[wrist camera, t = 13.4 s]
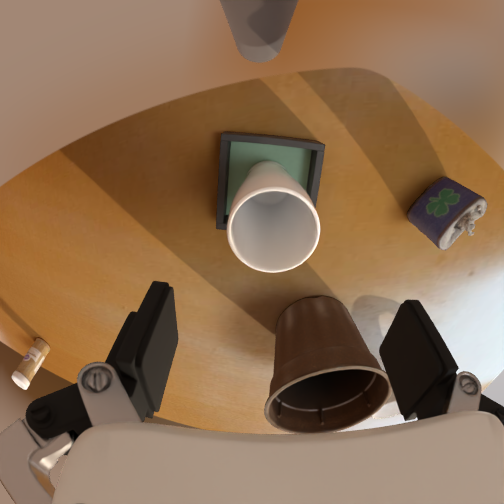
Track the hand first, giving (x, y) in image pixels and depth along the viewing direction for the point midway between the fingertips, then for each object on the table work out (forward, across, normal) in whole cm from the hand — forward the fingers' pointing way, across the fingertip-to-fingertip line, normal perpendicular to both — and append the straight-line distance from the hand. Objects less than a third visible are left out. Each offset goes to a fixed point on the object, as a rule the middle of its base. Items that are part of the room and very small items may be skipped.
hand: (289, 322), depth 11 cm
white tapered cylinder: (+25, 0, +1) cm, 25 cm away
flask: (+26, -23, 0) cm, 34 cm away
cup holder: (+26, 0, +1) cm, 26 cm away
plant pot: (+25, -10, +23) cm, 36 cm away
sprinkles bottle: (+25, +49, +41) cm, 69 cm away
